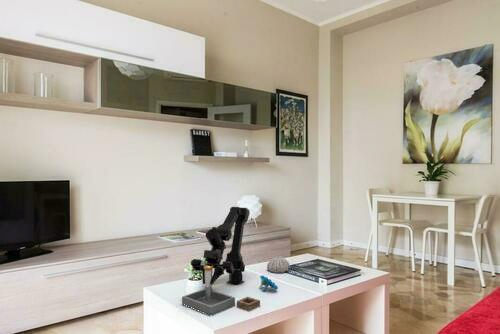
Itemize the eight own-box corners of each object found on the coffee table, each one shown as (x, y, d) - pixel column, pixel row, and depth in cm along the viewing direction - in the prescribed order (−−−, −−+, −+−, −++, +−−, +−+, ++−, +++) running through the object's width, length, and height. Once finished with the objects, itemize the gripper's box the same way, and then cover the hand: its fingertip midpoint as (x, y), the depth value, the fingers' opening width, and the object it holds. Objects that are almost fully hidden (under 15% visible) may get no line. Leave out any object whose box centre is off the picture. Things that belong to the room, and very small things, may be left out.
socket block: (236, 307, 150) (236, 301, 150) (247, 302, 155) (247, 296, 155) (249, 311, 145) (249, 305, 145) (260, 306, 151) (260, 300, 151)
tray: (182, 304, 152) (182, 296, 152) (206, 296, 163) (206, 288, 163) (210, 316, 141) (210, 307, 141) (234, 305, 151) (234, 297, 151)
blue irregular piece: (282, 288, 168) (268, 275, 166) (275, 299, 166) (261, 286, 163) (270, 285, 178) (257, 272, 175) (263, 295, 175) (250, 282, 173)
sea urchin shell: (293, 273, 199) (293, 259, 199) (269, 274, 196) (269, 260, 196) (286, 267, 212) (286, 253, 212) (264, 268, 209) (264, 254, 209)
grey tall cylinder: (202, 297, 153) (202, 265, 153) (211, 296, 154) (211, 264, 154) (205, 300, 149) (205, 267, 149) (214, 299, 151) (214, 266, 151)
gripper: (192, 240, 158) (181, 272, 148) (232, 243, 153) (222, 276, 142) (200, 254, 166) (189, 285, 155) (237, 257, 161) (229, 289, 150)
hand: (207, 284), depth 150 cm, fingers closed on grey tall cylinder, 3 cm apart
